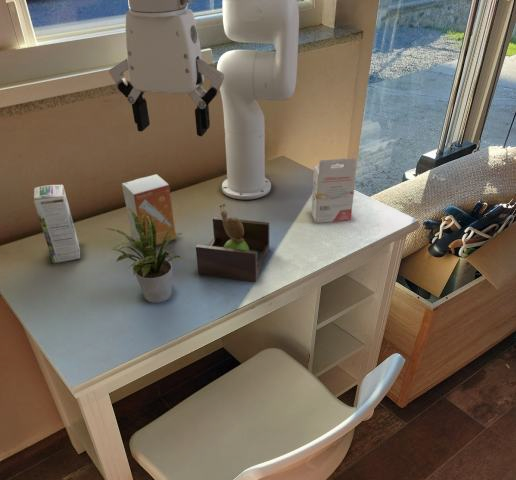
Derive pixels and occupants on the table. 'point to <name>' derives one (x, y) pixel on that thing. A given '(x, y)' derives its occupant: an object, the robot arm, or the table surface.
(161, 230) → the small box
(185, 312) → the table surface
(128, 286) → the table surface
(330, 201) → the ink cartridge box
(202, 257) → the frame
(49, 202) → the syrup box
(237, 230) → the snail figurine
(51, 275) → the table surface
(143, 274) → the house plant
